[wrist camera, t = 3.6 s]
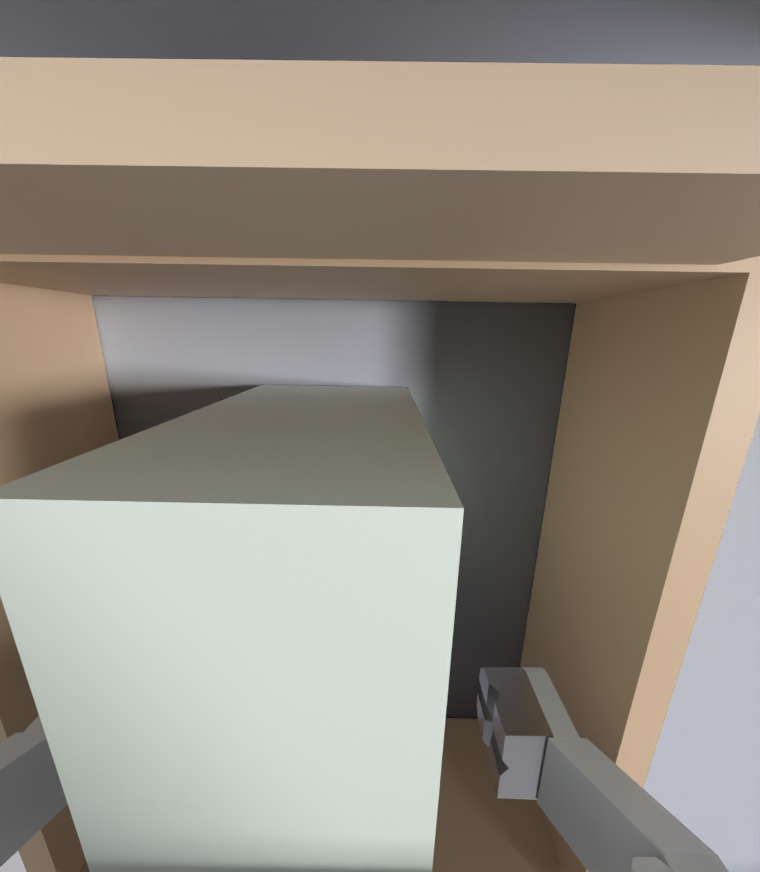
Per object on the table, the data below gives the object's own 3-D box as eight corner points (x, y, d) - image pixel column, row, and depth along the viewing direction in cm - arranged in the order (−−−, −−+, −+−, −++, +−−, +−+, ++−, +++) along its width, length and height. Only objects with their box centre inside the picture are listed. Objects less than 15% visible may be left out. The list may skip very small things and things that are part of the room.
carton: (610, 273, 10) (1390, 53, 2) (528, 734, 15) (689, 1173, 7) (57, 265, 10) (-1016, 26, 2) (154, 725, 15) (-96, 1148, 7)
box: (407, 387, 11) (464, 508, 3) (397, 668, 14) (413, 1082, 6) (261, 384, 11) (-32, 497, 3) (282, 665, 14) (155, 1074, 6)
